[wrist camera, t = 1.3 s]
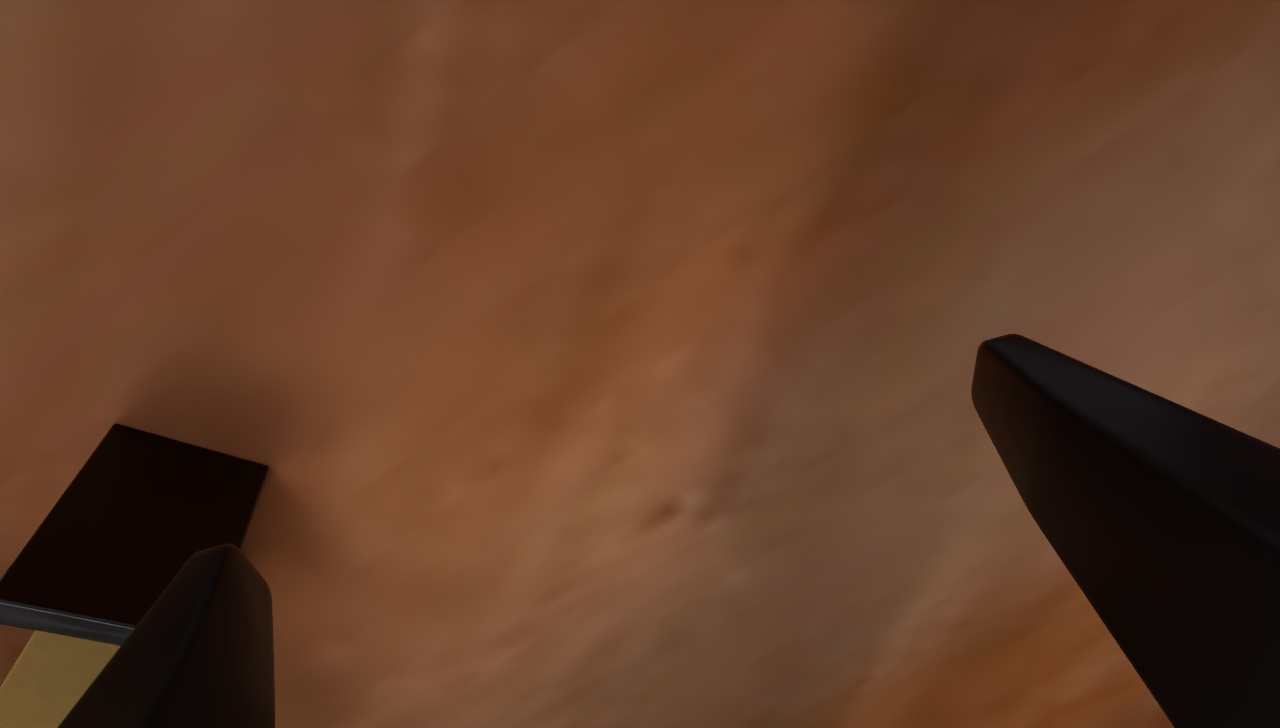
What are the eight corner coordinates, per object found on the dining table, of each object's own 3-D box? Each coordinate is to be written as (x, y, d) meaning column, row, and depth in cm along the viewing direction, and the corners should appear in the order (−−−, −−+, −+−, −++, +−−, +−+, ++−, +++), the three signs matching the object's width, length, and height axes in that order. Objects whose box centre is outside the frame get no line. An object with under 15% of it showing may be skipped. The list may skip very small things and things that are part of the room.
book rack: (160, 739, 26) (75, 972, 20) (18, 718, 25) (-122, 963, 19) (269, 465, 23) (209, 641, 17) (114, 422, 22) (-15, 598, 15)
